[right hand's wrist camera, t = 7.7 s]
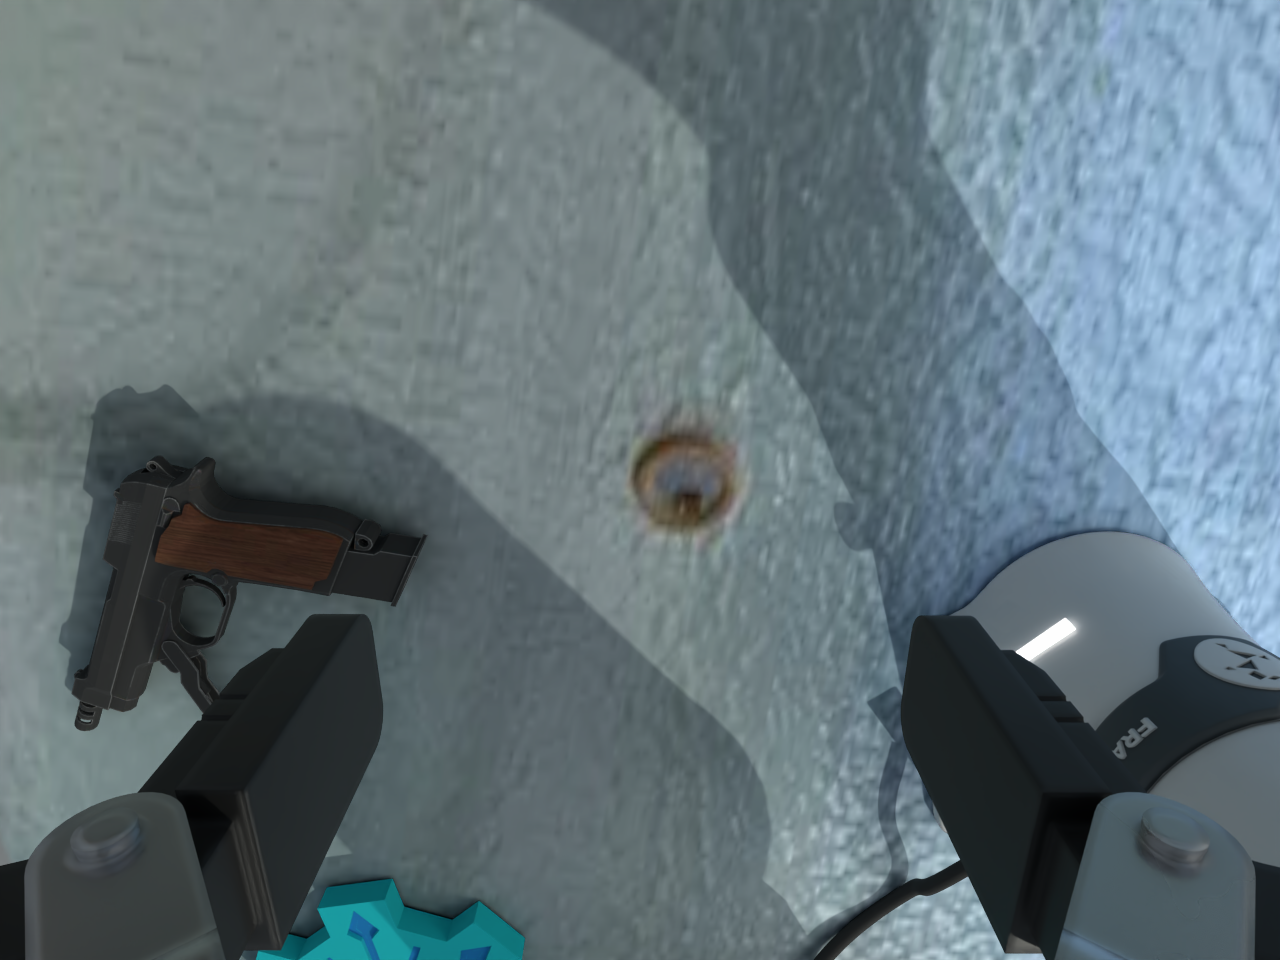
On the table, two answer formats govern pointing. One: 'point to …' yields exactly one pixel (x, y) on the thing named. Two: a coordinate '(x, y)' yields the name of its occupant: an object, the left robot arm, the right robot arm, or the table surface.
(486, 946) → the decorative ornament
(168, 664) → the handgun
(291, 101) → the table surface
